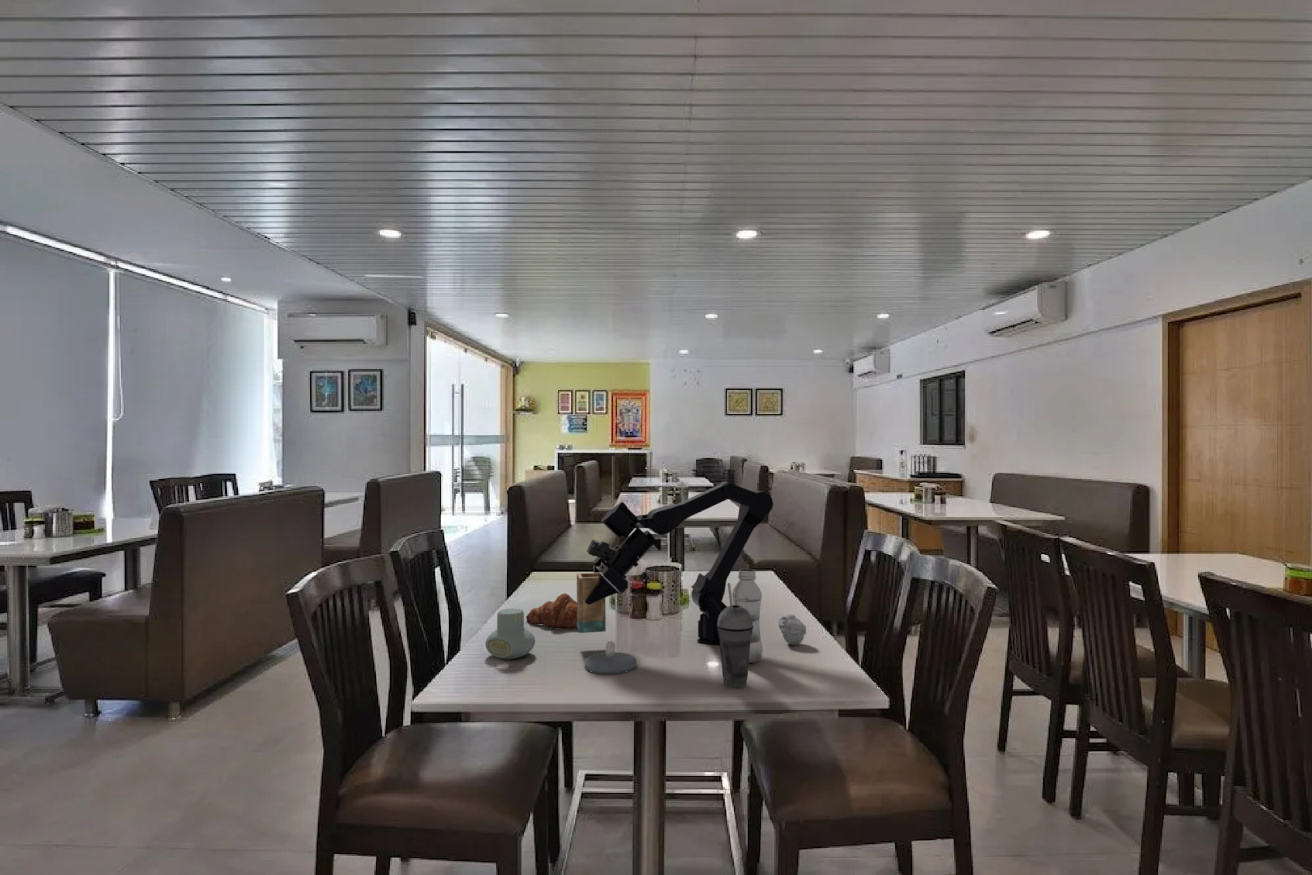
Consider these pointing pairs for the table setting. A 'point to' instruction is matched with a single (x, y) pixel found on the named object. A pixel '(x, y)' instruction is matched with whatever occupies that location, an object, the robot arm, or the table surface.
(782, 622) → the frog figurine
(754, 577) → the plastic bottle
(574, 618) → the pastry
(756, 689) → the table surface
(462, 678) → the table surface
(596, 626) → the banded sleeve
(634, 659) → the pin stand
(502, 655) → the air freshener
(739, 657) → the beverage cup
